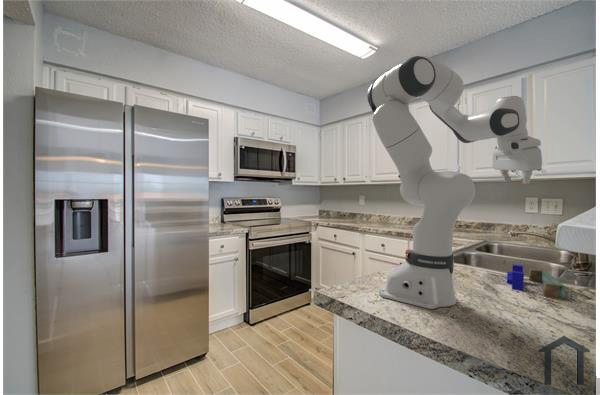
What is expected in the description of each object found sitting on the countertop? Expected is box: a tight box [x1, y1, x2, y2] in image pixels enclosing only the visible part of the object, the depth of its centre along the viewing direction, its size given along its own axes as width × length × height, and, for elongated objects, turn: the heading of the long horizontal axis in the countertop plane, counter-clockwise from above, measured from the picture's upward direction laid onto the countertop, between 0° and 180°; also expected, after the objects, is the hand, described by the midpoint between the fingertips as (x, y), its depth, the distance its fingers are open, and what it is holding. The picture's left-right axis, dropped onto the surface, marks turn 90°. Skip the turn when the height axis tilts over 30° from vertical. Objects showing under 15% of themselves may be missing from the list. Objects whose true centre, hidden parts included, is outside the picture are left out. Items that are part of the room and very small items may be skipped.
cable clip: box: [506, 264, 525, 292], centre depth 101 cm, size 12×4×6 cm, turn 143°
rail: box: [528, 268, 566, 300], centre depth 97 cm, size 5×18×4 cm, turn 154°
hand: (516, 182), depth 102 cm, fingers open, 8 cm apart
